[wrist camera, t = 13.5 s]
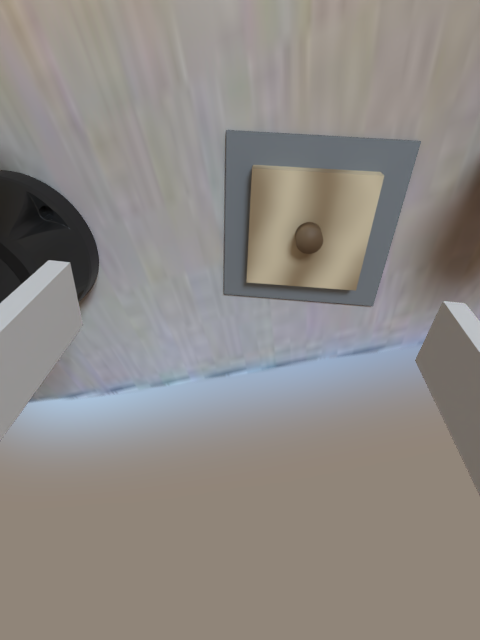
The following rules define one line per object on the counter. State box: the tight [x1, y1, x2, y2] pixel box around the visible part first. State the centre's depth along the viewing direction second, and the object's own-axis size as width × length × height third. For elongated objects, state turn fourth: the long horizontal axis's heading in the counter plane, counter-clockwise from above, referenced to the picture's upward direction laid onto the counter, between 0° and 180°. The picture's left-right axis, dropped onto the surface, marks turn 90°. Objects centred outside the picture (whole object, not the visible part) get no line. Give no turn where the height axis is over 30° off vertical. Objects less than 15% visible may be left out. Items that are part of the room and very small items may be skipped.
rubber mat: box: [224, 130, 421, 306], centre depth 35 cm, size 16×16×1 cm
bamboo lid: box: [247, 165, 384, 291], centre depth 34 cm, size 11×11×3 cm
